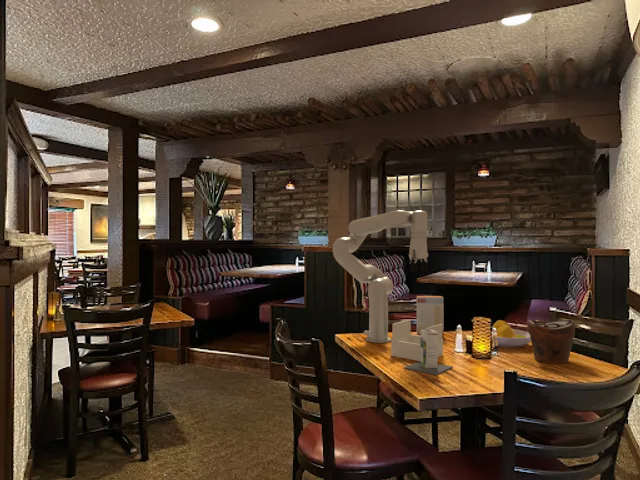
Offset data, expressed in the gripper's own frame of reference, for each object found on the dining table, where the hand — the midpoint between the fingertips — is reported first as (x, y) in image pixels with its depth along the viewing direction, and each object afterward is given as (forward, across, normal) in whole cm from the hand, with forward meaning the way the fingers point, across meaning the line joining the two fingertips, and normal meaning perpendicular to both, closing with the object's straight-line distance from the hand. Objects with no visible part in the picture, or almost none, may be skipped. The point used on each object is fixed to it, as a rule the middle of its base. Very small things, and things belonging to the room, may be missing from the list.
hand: (418, 270), depth 230 cm
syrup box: (+36, +34, +24) cm, 55 cm away
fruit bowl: (+36, -30, +30) cm, 56 cm away
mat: (+36, +35, +24) cm, 56 cm away
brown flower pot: (+36, -12, +57) cm, 69 cm away
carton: (+36, +19, +10) cm, 42 cm away
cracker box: (+36, -27, -8) cm, 46 cm away
